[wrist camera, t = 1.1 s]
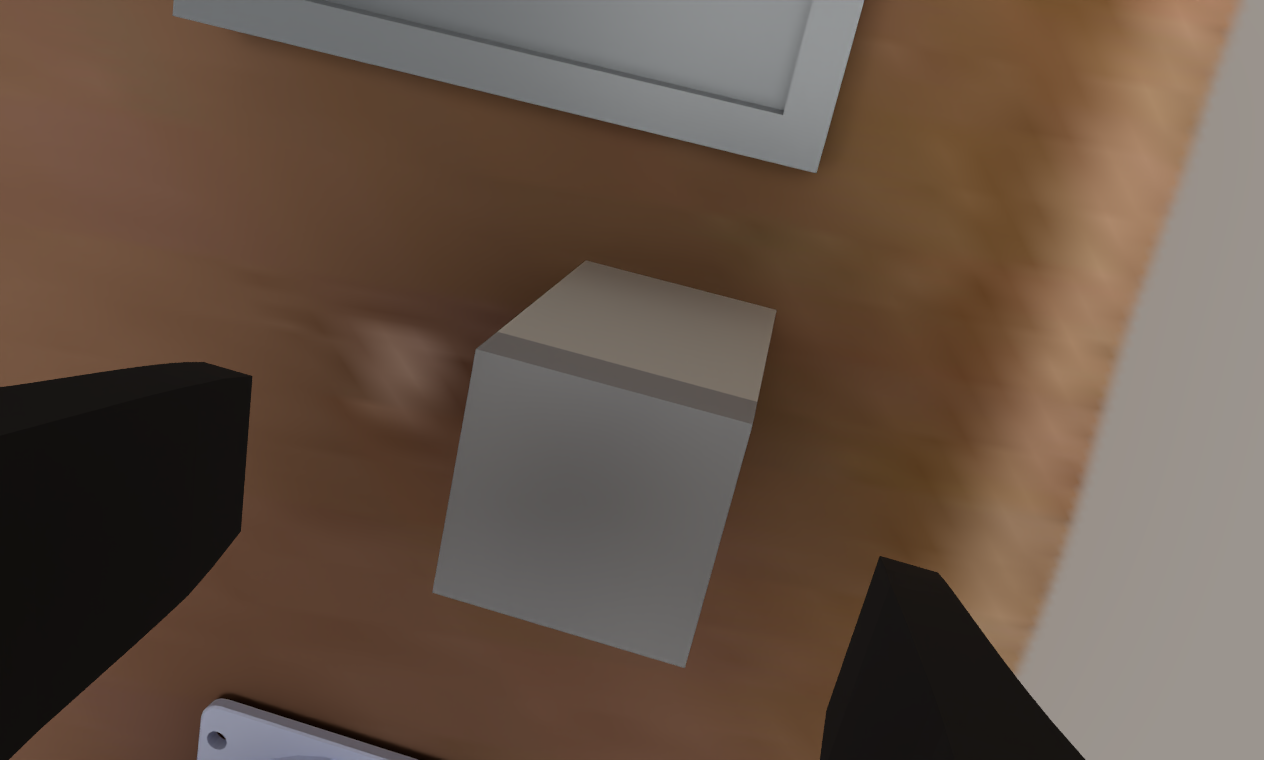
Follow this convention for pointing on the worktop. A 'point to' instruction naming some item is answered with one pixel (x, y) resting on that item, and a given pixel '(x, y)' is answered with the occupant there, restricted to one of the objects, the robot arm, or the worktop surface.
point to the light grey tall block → (604, 458)
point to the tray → (600, 58)
